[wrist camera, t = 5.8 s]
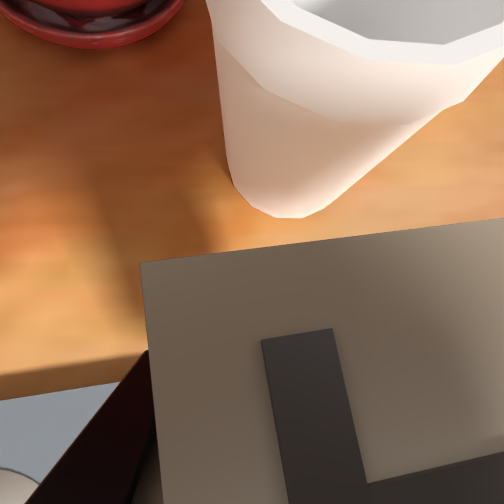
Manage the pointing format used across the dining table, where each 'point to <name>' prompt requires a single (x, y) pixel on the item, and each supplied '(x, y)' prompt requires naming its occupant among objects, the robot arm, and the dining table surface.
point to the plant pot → (90, 20)
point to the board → (41, 435)
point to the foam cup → (338, 86)
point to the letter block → (332, 370)
